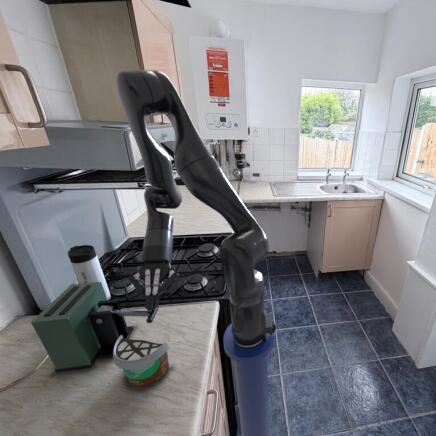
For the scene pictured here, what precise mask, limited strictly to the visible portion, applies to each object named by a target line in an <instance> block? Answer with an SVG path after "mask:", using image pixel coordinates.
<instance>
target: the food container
mask: <svg viewBox="0 0 436 436" xmlns="http://www.w3.org/2000/svg"><path fill="white" fill-rule="evenodd" d="M169 349H170V346H169V345H168V343H167V342H166V340H165V341H164V342H163V343H157V342H152V341H149V340H143V339H131V338H129V339H125V338H123V337H122V335H121V336H120V337H119V338H118V340H117V341H116V343H115V346H114V349H113V357H112V360H113V363H114V365H115V366H116V367H117V368H119V369H120V370H121V369H122V372H123V373H124V375H125V376H126V378H127V380H128V382H129V383H130V385H131V386H133V387H134V388H137V389H142V388H149V387H150V386H152V385H155V384H157V383H158V382H159V381H161V380H162V379H163V378H164V377H165V376H167V374H168V373H169V371H170V364H169V358H168V357H169V355H168V350H169Z"/></svg>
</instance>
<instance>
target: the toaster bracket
mask: <svg viewBox="0 0 436 436" xmlns="http://www.w3.org/2000/svg"><path fill="white" fill-rule="evenodd" d="M97 304H98V307H99V308H100V307H101V305H103V306H114V310H122V306H121V304H120V301H119V299H118V298H116V299H115V298H114V299H109V300H105V301H99V302H98V303H97ZM88 317H89V319H90V322H91V324H92V327H93V329H94V332H95V334H96V336H97V339H98V341H99V344H100V346H101V350H100V352H99V353H98V355H97V356H96V360H102V359H111V358H113V349H114V346H115V343H116V341H117V340H118V338H119V337H120V336H121V335H122V337H123V338H125V339H130V337H131V335H132V333H133V331H134V329H135V327H134V326H133V325H130V326H128V324H127V322H126V318H125V316H112V314H111V312H110V310H109V311H99V312H90V313H89V315H88Z"/></svg>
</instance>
